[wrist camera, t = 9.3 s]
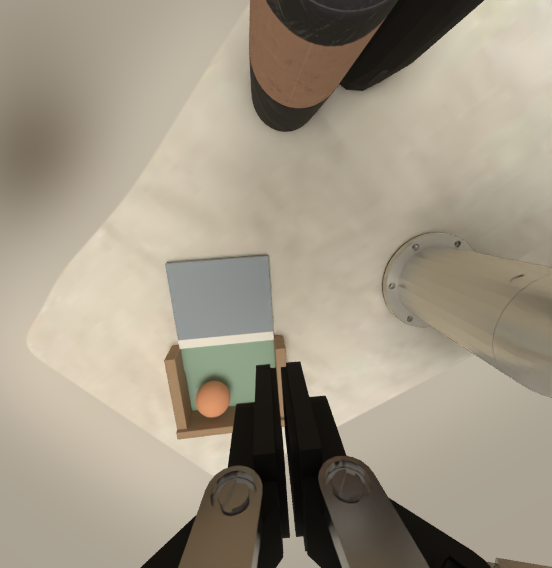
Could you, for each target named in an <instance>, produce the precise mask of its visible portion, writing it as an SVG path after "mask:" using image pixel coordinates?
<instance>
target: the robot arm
mask: <svg viewBox="0 0 552 568" xmlns="http://www.w3.org/2000/svg"><path fill="white" fill-rule="evenodd" d="M412 246H413V247H412ZM389 284H390V285H389ZM383 295H384V298H385V302H386V304H387V306H388V308H389V309H390V311H391V312H392V313H393V314H394V315H395V316H396V317H397V318H399V319H400V320H401V321H403V322H405V323H406V324H409V325H412V326H416V327H434V328H435V329H437V330H438V331H440V332H441V333H443V334H444V335H446V336H447V337H449V338H450V339H452V340H453V341H455V342H456V343H458V344H459V345H461V346H463V347H464V348H466V349H467V350H469V351H470V352H472V353H473V354H475V355H476V356H478V357H479V358H481V359H482V360H484V361H485V362H487V363H489V364H490V365H492V366H493V367H495V368H496V369H498V370H499V371H501V372H502V373H504V374H505V375H507V376H509V377H510V378H512V379H514V380H515V381H517V382H518V383H520V384H521V385H523V386H525V387H527V388H528V389H530V390H532V391H534V392H537V393H539V394H541V395H544V396H547V397H551V398H552V268H550V267H546V266H541V265H536V264H531V263H526V262H521V261H516V260H511V259H506V258H501V257H496V256H491V255H486V254H481V253H476V252H474V251H473V250H472V248H471V247H470V245H469V244H468V243H466V242H465V241H464V240H463V239H461V238H459V237H457V236H455V235H451V234H447V233H438V232H437V233H427V234H424V235H420V236H418V237H416V238H414V239H411V240H410V241H409V242H407V243H406V244H404V245H403V246H402V247H401V248H400V249H399V250H398V251H397V252H396V253H395V255H394V256H393V257H392V259H391V260H390V262H389V264H388V266H387V268H386V271H385V275H384V279H383ZM281 381H282V395H283V410H284V425H285V436H286V446H287V455H288V465H289V475H290V484H291V493H292V503H293V512H294V522H295V531H296V537H300V536H303V537H304V545H305V551H307V554H308V556H309V557H310V558H311V559H313V560H314V561H315V562H316V563H317V564H318V565H319V566H320V567H321V568H552V567H549V566H543V565H537V564H531V563H525V562H519V561H513V560H507V559H501V558H496V560H495V563H491V562H486V561H485V560H484V559H482V558H481V557H480V556H479V555H477V554H476V553H475V552H473V551H472V550H470V549H469V548H467V547H466V546H464V545H462V544H461V543H459V542H458V541H456V540H455V539H453V538H451V537H450V536H448V535H447V534H445V533H444V532H442V531H440V530H439V529H437V528H436V527H434V526H432V525H431V524H429V523H428V522H426V521H425V520H423V519H421V518H420V517H418V516H416V515H415V514H413V513H412V512H410V511H409V510H407V509H406V508H404V507H403V506H401V505H399V504H397V503H396V502H395V501H393V500H391V499H390V498H388V496H387V495H386V493H385V491H384V490H383V488H382V486H381V485H380V483H379V481H378V480H377V478H376V476H375V475H374V473H373V472H372V471H371V469H370V468H369V467H368V466H367V465H366V464H364V463H363V462H362V461H360V460H358V459H356V458H353V457H349V456H346V453H345V450H344V447H343V445H342V441H341V438H340V436H339V433H338V430H337V427H336V424H335V421H334V418H333V415H332V412H331V409H330V406H329V403H328V400H327V398H326V396H316V397H309V395H308V391H307V387H306V383H305V379H304V375H303V371H302V367H301V363H300V362H288V363H286V367H281ZM289 537H290V533H289V518H288V504H287V490H286V475H285V461H284V449H283V437H282V426H281V415H280V404H279V394H278V383H277V372H276V367H275V368H271V367H270V364H264V365H256V379H255V402H248V403H237V404H236V409H235V416H234V424H233V432H232V439H231V447H230V455H229V463H228V468H226V469H223V470H222V471H220V472H219V473H218V474H216V475H215V476H214V477H213V478H212V480H211V481H210V482H209V484H208V486H207V488H206V490H205V492H204V495H203V498H202V501H201V504H200V507H199V510H198V512H197V515H196V516H195V517H194V518H193V519H192V520H191V521H189V523H188V524H186V525H185V526H184V527H183V528H182V529H181V530H180V531H179V532H178V533H177V534H176V535H175V536H174V537H173V538H172V539H170V540H169V541H168V542H167V543H166V544H165V545H164V546H163V547H162V548H161V549H160V550H159V551H158V552H157V553H156V554H155V555H153V556H152V557H151V558H150V559H149V560H148V561H147V562H146V563H145V564H144V565H143V566H142V567H141V568H276V567H277V565H278V564H279V563H280V561H281V560H282V558H283V541H282V538H289Z"/></svg>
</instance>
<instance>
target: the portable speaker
mask: <svg viewBox="0 0 552 568" xmlns="http://www.w3.org/2000/svg"><path fill="white" fill-rule="evenodd" d="M483 1H484V0H398V1H397V3H396V4H395V6H394V7H393V8H392V10H391V11H390V13H389V14H388V15H387V17H386V18H385V20H384V21H383V22H382V24H381V25H380V27H379V28H378V30H377V31H376V32H375V34H374V35H373V37H372V38H371V39H370V41H369V42H368V44H367V45H366V46H365V48H364V49H363V51H362V52H361V54H360V55H359V56H358V58H357V59H356V61H355V62H354V63H353V65H352V66H351V68H350V69H349V70H348V72H347V73H346V75H345V76H344V78H343V79H342V80H341V82H340V84H341V85H342V86H343V87H345V88H346V89H347V90H361V91H363V90H365V89H367V88H369V87H371V86H373V85H375V84H376V83H379V82H381V81H383V80H384V79H386V78H388V77H389V76H391V75H393V74H394V73H396V72H398V71H399V70H401V69H403V68H404V67H406V66H408V65H409V64H411V63H413V62H414V61H415V60H416V59H417V58H418V57H419V56H421V55H422V54H423V53H424V52H425V51H426V50H428V49H429V48H430V47H431V46H432V45H433V44H434V43H436V42H437V41H438V40H439V39H440V38H441V37H443V36H444V35H445V34H446V33H447V32H448V31H449V30H451V29H452V28H453V27H454V26H455V25H456V24H458V23H459V22H460V21H461V20H462V19H463V18H464V17H466V16H467V15H468V14H469V13H470V12H471V11H472V10H474V9H475V8H476V7H477V6H478V5H479V4H481V3H482V2H483Z"/></svg>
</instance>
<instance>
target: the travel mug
mask: <svg viewBox="0 0 552 568" xmlns="http://www.w3.org/2000/svg"><path fill="white" fill-rule="evenodd" d="M397 1H398V0H250V32H249V55H250V74H251V92H252V100H253V104H254V107H255V110H256V112H257V114H258V116H259V117H260V118H261V120H262V121H263V122H264V123H265V124H267V125H268V126H269V127H271V128H273V129H275V130H278V131H293V130H296V129H298V128H300V127H302V126H303V125H304V124H306V123H307V122H308V121H309V120H310V119H311V117H312V116H313V115H314V114H315V113H316V112H317V110H318V109H319V108H320V107H321V106H322V105H323V103H324V102H325V101H326V100H327V99H328V97H329V96H330V95H331V94H332V93H333V91H334V90H335V89H336V87H337V86H338V85H339V83H340V82H341V80H342V79H343V78H344V76H345V75H346V73H347V72H348V70H349V69H350V68H351V66H352V65H353V63H354V62H355V61H356V59H357V58H358V56H359V55H360V54H361V52H362V51H363V49H364V48H365V46H366V45H367V44H368V42H369V41H370V39H371V38H372V37H373V35H374V34H375V32H376V31H377V30H378V28H379V27H380V25H381V24H382V22H383V21H384V20H385V18H386V17H387V15H388V14H389V13H390V11H391V10H392V8H393V7H394V6H395V4H396V3H397Z"/></svg>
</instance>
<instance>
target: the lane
mask: <svg viewBox="0 0 552 568" xmlns="http://www.w3.org/2000/svg"><path fill="white" fill-rule="evenodd" d="M165 266H166V272H167V278H168V284H169V290H170V295H171V301H172V307H173V313H174V319H175V325H176V331H177V336H178V342H179V346H172V347H171V349H170V351H169V353H168V354H167V356H166V358H165V360H164V362H165V367H166V373H167V378H168V383H169V388H170V394H171V399H172V404H173V409H174V415H175V420H176V425H177V439H185V438H193V437H202V436H210V435H218V434H226V433H232V432H233V424H234V416H235V409H236V404H237V403H248V402H255V379H256V365H264V364H270V367H271V368H275V367H276V372H277V383H278V394H279V404H280V415H281V426H282V427H284V426H285V425H284V410H283V395H282V381H281V367H286V349H285V345H284V341H283V337H282V336H274V334H273V319H272V305H271V290H270V275H269V260H268V255H258V256H244V257H231V258H218V259H204V260H191V261H177V262H167V263H166V264H165ZM209 381H220V382H222V383H223V384H225V385H226V386H227V388H228V389H229V392H230V404H229V406H228V408H227V409H226V411H225V412H224V413H223V414H221V415H220V416H217V417H206V416H204V415H202V414H201V413H200V412H199V411H198V409H197V406H196V395H197V392H198V390H199V389H200V387H201V386H202V385H204V384H205V383H207V382H209Z"/></svg>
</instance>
